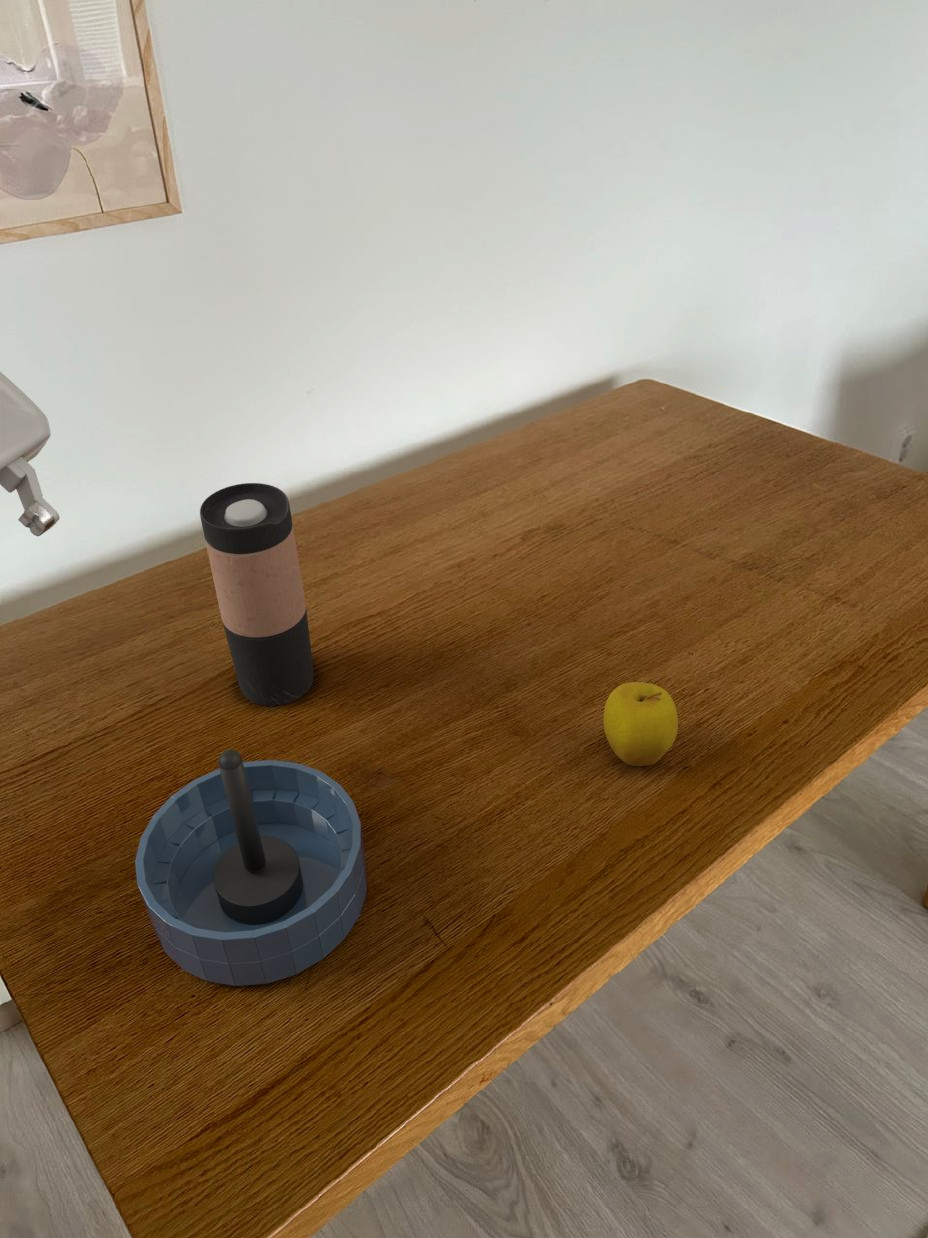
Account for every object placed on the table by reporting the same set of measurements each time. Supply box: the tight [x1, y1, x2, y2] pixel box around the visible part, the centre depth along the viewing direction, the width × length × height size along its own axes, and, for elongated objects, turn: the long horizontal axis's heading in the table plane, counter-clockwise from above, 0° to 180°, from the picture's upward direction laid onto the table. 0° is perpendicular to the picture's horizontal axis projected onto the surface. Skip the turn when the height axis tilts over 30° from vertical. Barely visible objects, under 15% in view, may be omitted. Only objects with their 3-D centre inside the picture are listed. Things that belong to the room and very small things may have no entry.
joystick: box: [214, 749, 303, 925], centre depth 71 cm, size 6×6×15 cm
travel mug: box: [199, 482, 314, 707], centre depth 89 cm, size 8×8×20 cm
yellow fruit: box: [603, 681, 679, 767], centre depth 84 cm, size 6×6×8 cm
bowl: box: [134, 759, 368, 987], centre depth 74 cm, size 16×16×6 cm
